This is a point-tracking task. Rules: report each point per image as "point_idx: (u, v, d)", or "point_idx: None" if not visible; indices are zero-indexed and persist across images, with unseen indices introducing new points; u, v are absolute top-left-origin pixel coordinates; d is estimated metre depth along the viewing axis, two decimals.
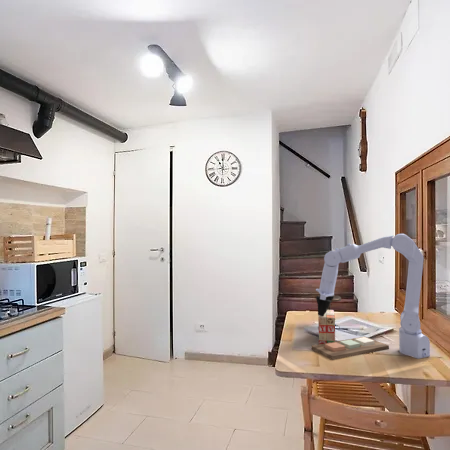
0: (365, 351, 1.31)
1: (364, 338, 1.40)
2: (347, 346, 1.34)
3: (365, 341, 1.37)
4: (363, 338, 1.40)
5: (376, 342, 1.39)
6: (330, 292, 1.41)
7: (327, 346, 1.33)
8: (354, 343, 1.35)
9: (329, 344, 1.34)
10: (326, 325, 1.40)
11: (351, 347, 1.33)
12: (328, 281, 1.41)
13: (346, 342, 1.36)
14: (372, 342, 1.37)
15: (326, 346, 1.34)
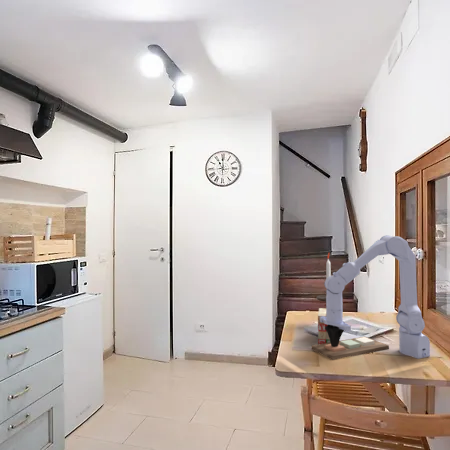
0: (365, 351, 1.31)
1: (364, 338, 1.40)
2: (347, 346, 1.34)
3: (365, 341, 1.37)
4: (363, 338, 1.40)
5: (376, 342, 1.39)
6: (342, 320, 1.32)
7: (327, 347, 1.33)
8: (354, 343, 1.35)
9: (329, 345, 1.34)
10: (325, 324, 1.41)
11: (351, 347, 1.33)
12: (337, 310, 1.30)
13: (346, 342, 1.36)
14: (372, 342, 1.37)
15: (326, 347, 1.34)
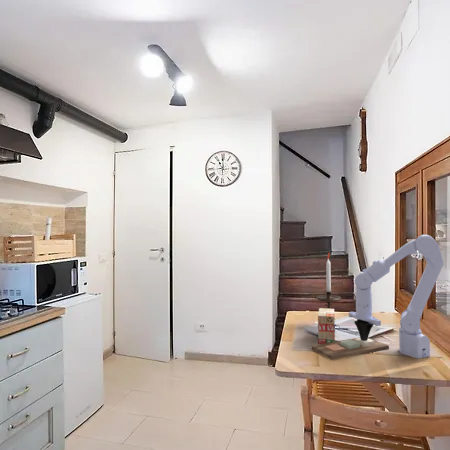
0: (365, 351, 1.31)
1: None
2: (347, 346, 1.34)
3: (365, 341, 1.37)
4: None
5: (376, 342, 1.39)
6: (371, 315, 1.37)
7: (327, 348, 1.33)
8: (354, 343, 1.35)
9: (329, 346, 1.34)
10: (325, 324, 1.41)
11: (351, 347, 1.33)
12: (364, 305, 1.36)
13: (346, 342, 1.36)
14: (372, 342, 1.37)
15: (326, 348, 1.34)
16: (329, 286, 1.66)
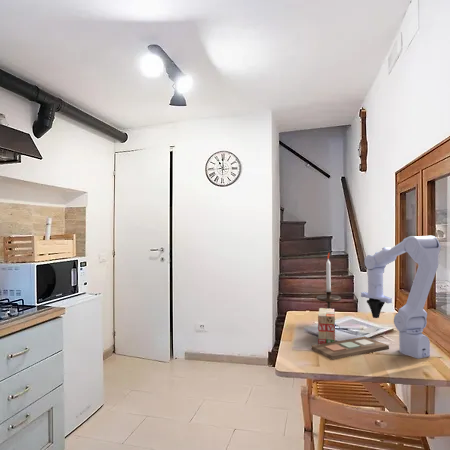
0: (365, 351, 1.31)
1: (364, 340, 1.40)
2: None
3: (365, 343, 1.37)
4: (363, 340, 1.40)
5: (376, 342, 1.39)
6: None
7: (327, 348, 1.33)
8: (354, 345, 1.35)
9: (329, 346, 1.34)
10: (326, 324, 1.41)
11: None
12: (370, 284, 1.48)
13: (347, 344, 1.36)
14: (372, 344, 1.37)
15: (326, 348, 1.34)
16: (329, 286, 1.66)
